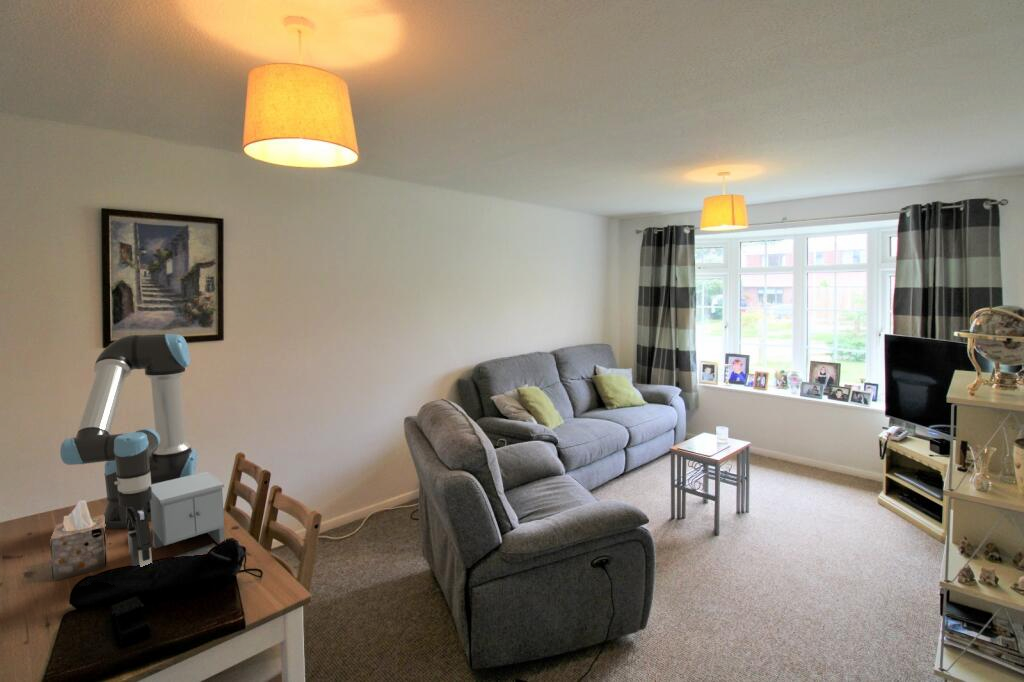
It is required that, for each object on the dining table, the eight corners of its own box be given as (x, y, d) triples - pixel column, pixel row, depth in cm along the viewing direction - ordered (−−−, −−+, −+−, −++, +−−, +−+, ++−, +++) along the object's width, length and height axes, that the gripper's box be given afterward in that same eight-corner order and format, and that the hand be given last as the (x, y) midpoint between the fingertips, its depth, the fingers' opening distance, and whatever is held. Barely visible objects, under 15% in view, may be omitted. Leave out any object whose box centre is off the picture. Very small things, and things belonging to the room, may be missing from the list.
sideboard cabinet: (151, 546, 160) (146, 485, 158) (211, 528, 172) (207, 471, 170) (165, 567, 148) (160, 501, 146) (228, 545, 161) (224, 484, 158)
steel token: (188, 561, 152) (188, 553, 152) (207, 554, 156) (206, 547, 156) (194, 567, 149) (193, 559, 149) (213, 560, 152) (212, 553, 152)
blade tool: (131, 574, 145) (128, 533, 144) (213, 546, 160) (211, 509, 159) (135, 579, 142) (131, 538, 141) (217, 550, 158) (215, 513, 156)
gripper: (109, 480, 148) (115, 549, 150) (127, 506, 131) (134, 584, 133) (140, 473, 153) (146, 540, 156) (162, 497, 136) (167, 572, 139)
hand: (140, 560), depth 144 cm, fingers open, 13 cm apart
